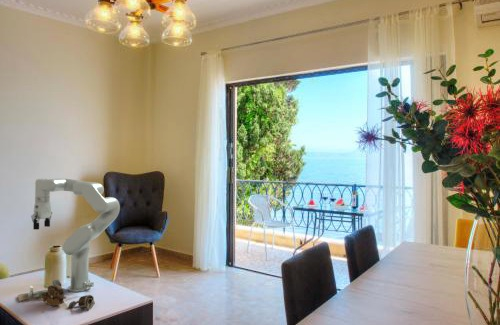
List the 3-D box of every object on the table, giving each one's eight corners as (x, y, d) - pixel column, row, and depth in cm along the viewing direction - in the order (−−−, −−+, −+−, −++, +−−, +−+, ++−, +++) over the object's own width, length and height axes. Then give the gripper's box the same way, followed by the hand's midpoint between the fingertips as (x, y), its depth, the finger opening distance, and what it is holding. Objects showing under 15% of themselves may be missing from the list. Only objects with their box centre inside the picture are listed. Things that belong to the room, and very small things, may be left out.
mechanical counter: (79, 304, 174) (97, 293, 182) (64, 296, 181) (82, 286, 189) (81, 316, 176) (99, 305, 184) (66, 308, 182) (83, 298, 191)
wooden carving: (38, 304, 187) (38, 285, 187) (45, 301, 191) (46, 282, 191) (61, 309, 181) (62, 289, 181) (69, 305, 185) (69, 286, 185)
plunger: (31, 298, 191) (31, 290, 191) (29, 293, 198) (29, 285, 198) (33, 297, 192) (33, 289, 192) (32, 293, 199) (32, 285, 199)
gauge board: (19, 302, 189) (19, 291, 189) (17, 297, 197) (17, 286, 197) (61, 294, 201) (61, 284, 201) (58, 289, 209) (58, 279, 209)
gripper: (38, 201, 204) (37, 230, 204) (57, 198, 222) (56, 225, 221) (26, 200, 205) (25, 230, 205) (45, 198, 222) (45, 225, 222)
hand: (41, 227), depth 213 cm, fingers open, 9 cm apart
